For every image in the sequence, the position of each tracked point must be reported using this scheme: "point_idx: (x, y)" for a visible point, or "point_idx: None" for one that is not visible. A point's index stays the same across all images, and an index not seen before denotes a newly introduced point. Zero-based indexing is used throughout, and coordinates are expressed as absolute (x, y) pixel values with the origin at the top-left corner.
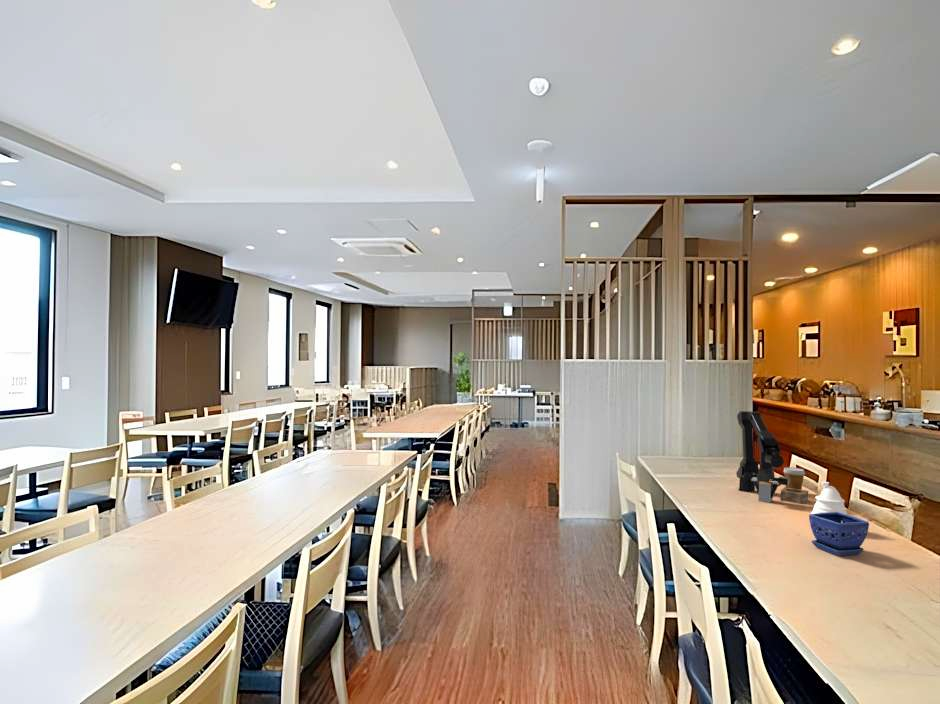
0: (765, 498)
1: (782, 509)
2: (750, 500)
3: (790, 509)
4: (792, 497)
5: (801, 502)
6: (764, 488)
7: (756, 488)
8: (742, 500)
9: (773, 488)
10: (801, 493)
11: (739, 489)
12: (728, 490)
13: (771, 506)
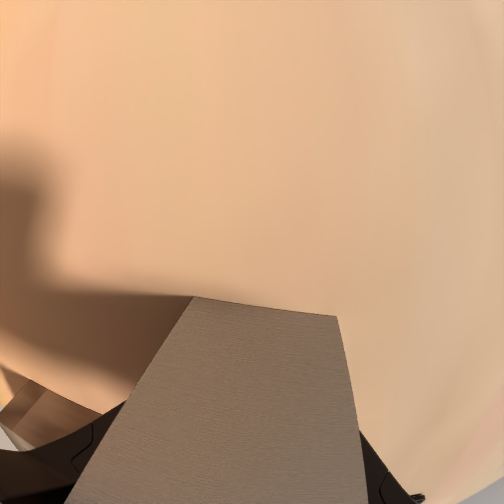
0: (243, 336)
1: (58, 73)
2: (424, 297)
3: (15, 141)
4: (66, 430)
5: (37, 391)
6: (236, 476)
7: (389, 475)
8: (500, 235)
9: (74, 460)
10: (16, 439)
11: (420, 500)
12: (480, 463)
13: (154, 115)
